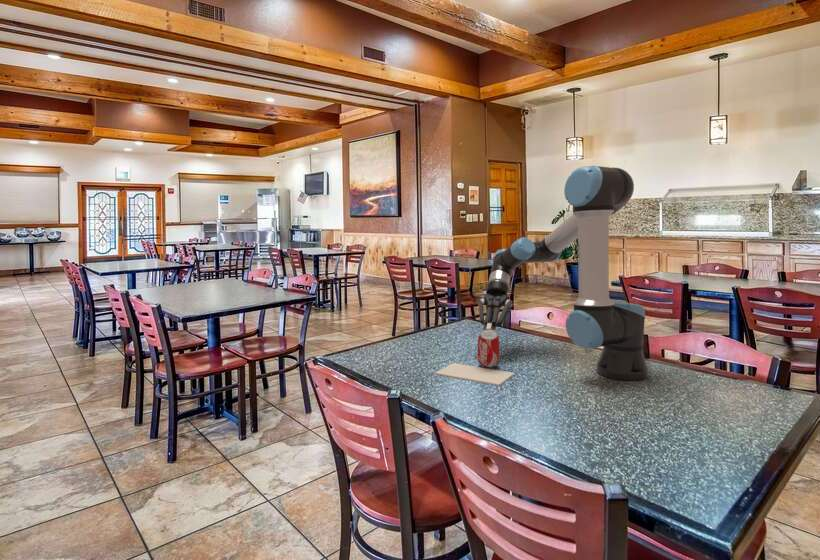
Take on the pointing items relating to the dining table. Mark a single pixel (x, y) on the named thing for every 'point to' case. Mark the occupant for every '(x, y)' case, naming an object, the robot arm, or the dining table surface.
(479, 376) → the mat
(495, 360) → the soda can
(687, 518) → the dining table surface
